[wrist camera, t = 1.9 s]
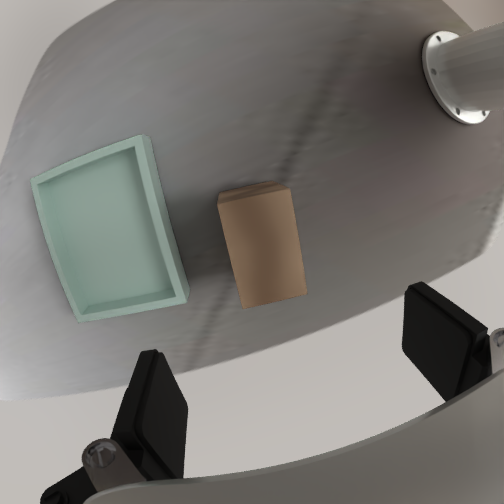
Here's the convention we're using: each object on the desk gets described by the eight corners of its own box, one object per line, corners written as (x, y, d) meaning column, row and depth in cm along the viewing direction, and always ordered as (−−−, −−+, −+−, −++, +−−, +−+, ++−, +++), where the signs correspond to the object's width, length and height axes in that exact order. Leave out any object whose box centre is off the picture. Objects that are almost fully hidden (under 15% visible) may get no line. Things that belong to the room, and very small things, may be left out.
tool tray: (149, 136, 25) (141, 134, 22) (190, 289, 30) (186, 302, 27) (45, 176, 25) (29, 179, 22) (88, 310, 29) (78, 322, 27)
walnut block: (272, 180, 27) (290, 188, 20) (286, 259, 30) (307, 293, 22) (219, 192, 27) (217, 204, 20) (238, 271, 30) (242, 309, 22)
